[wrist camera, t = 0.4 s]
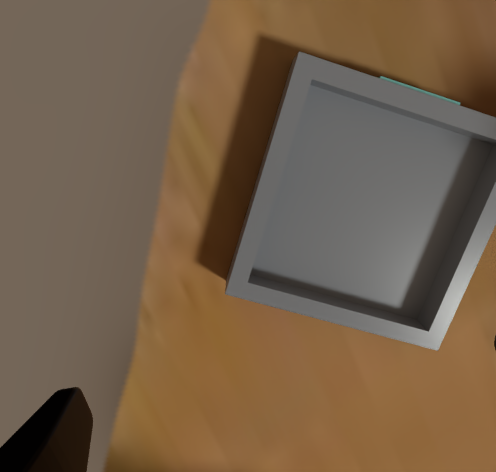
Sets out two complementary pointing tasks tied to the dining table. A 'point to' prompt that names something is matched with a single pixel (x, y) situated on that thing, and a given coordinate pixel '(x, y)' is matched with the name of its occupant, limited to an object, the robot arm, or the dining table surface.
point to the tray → (368, 204)
